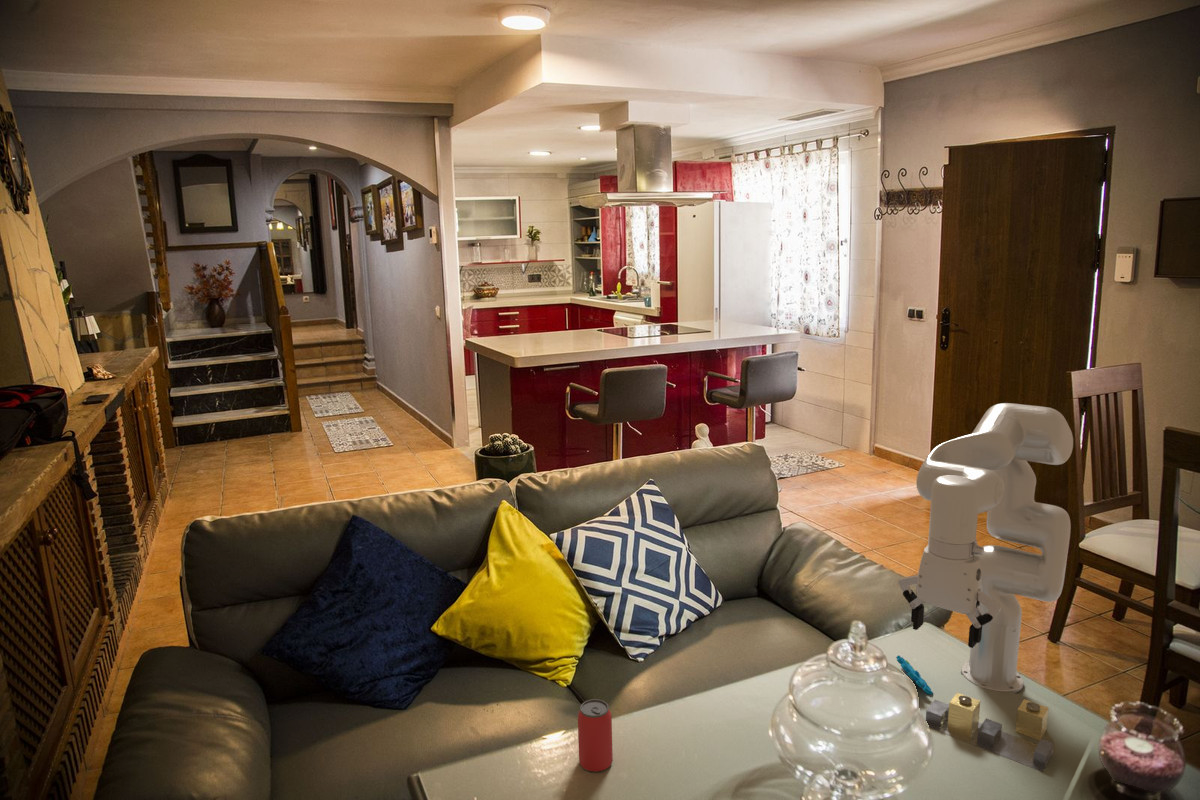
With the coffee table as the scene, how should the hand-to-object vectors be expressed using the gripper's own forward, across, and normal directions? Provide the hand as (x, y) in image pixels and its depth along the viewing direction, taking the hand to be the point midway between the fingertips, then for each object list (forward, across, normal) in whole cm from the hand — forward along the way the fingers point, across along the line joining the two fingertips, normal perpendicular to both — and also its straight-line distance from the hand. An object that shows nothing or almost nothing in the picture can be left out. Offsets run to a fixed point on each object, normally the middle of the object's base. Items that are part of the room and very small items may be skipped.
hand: (944, 635), depth 140 cm
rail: (+29, -4, -16) cm, 33 cm away
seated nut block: (+28, +1, -16) cm, 32 cm away
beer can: (+29, +50, +39) cm, 70 cm away
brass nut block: (+29, -10, -24) cm, 39 cm away
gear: (+29, +14, -25) cm, 41 cm away
